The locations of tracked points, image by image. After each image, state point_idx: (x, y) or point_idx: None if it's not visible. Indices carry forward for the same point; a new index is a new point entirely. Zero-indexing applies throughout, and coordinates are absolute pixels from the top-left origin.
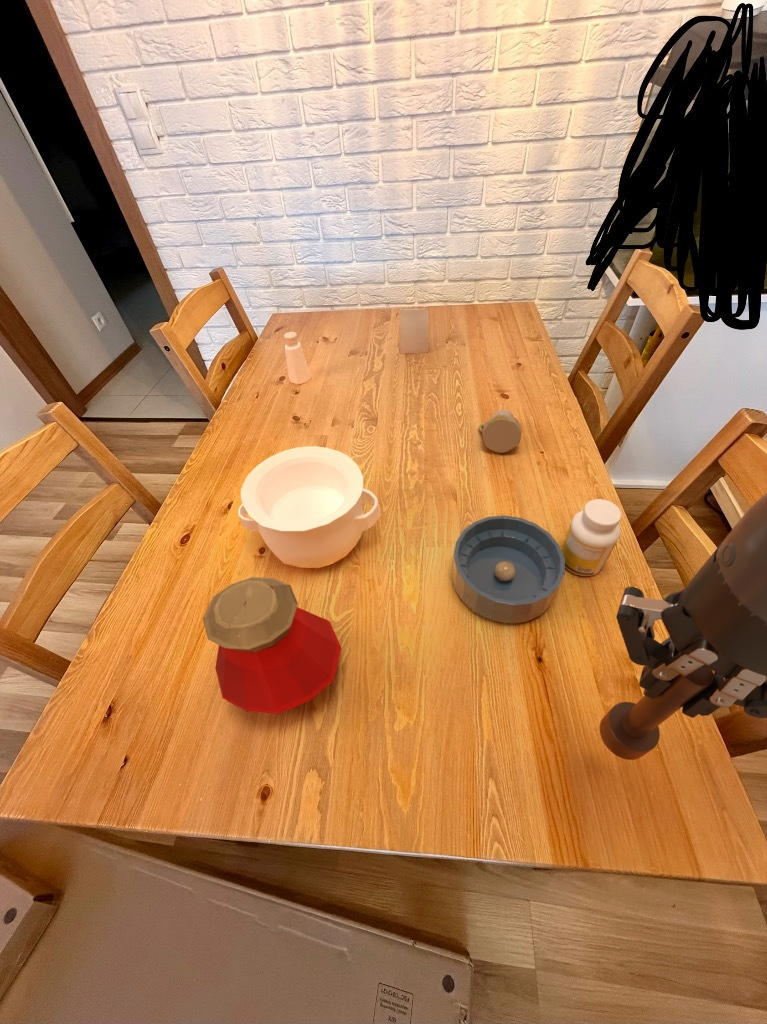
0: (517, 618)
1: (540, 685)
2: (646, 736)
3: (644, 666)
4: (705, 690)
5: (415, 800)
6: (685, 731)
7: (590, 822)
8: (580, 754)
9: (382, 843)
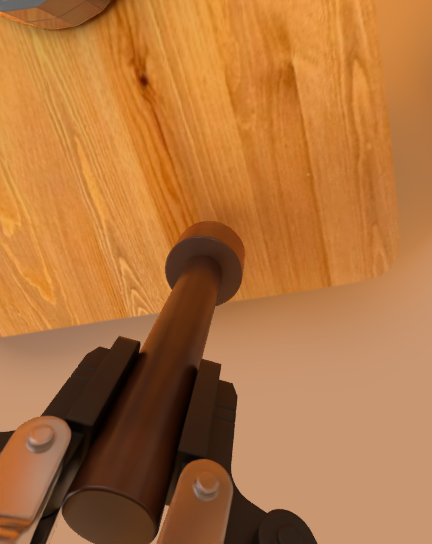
0: (79, 15)
1: (152, 126)
2: (221, 284)
3: (79, 364)
4: (169, 489)
5: (58, 293)
6: (352, 136)
7: None
8: (212, 207)
9: (47, 329)
